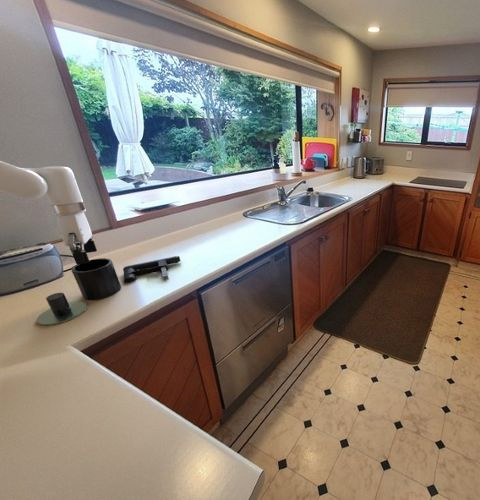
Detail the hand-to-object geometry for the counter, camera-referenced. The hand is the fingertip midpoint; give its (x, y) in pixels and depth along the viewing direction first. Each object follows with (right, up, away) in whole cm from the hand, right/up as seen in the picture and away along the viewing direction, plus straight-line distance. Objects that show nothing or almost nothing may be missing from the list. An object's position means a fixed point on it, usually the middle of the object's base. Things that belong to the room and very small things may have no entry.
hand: (87, 257), depth 94 cm
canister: (0, -13, +6) cm, 15 cm away
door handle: (+9, -7, +20) cm, 23 cm away
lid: (-2, -18, -5) cm, 19 cm away
